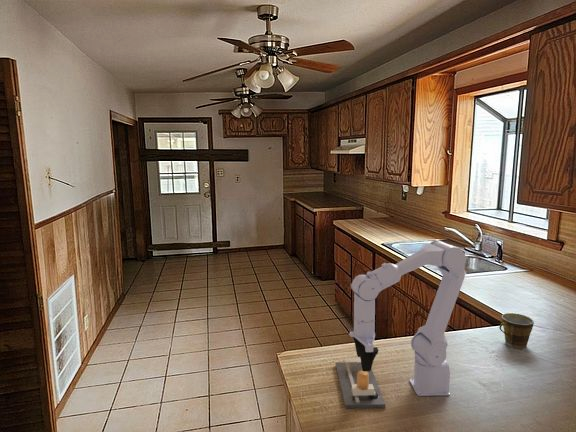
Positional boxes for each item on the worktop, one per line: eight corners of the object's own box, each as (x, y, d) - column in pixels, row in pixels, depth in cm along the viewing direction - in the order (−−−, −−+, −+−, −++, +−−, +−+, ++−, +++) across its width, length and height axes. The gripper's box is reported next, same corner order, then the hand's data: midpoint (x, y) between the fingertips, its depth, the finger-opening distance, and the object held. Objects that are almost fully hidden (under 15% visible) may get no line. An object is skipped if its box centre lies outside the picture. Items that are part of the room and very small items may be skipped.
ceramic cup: (514, 336, 146) (516, 311, 145) (538, 348, 137) (540, 322, 135) (487, 342, 142) (488, 316, 141) (510, 355, 133) (512, 327, 131)
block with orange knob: (374, 390, 111) (374, 370, 110) (376, 397, 108) (377, 376, 107) (351, 390, 111) (351, 370, 110) (353, 397, 108) (353, 377, 107)
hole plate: (368, 365, 128) (368, 353, 127) (385, 408, 106) (385, 394, 105) (335, 365, 128) (335, 354, 127) (345, 408, 106) (345, 394, 105)
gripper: (345, 308, 115) (345, 350, 117) (354, 330, 100) (354, 378, 103) (369, 307, 115) (368, 350, 117) (381, 329, 101) (380, 377, 103)
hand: (363, 363), depth 110 cm, fingers open, 7 cm apart
